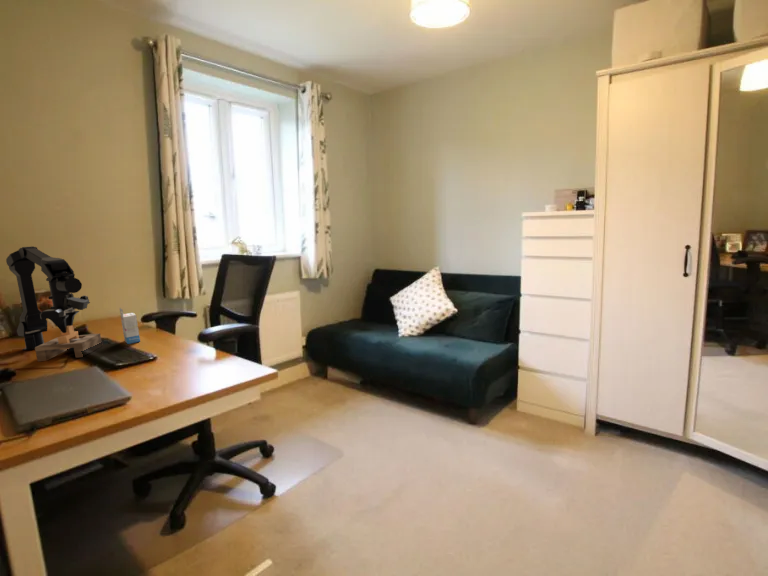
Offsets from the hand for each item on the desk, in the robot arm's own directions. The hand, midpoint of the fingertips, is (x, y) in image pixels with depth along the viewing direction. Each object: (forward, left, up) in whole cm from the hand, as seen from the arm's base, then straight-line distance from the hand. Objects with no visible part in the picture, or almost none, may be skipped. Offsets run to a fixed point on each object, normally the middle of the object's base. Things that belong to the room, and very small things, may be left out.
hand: (67, 331), depth 163 cm
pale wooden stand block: (0, 0, -6) cm, 6 cm away
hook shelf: (0, 0, -9) cm, 9 cm away
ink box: (-11, +18, -9) cm, 23 cm away
